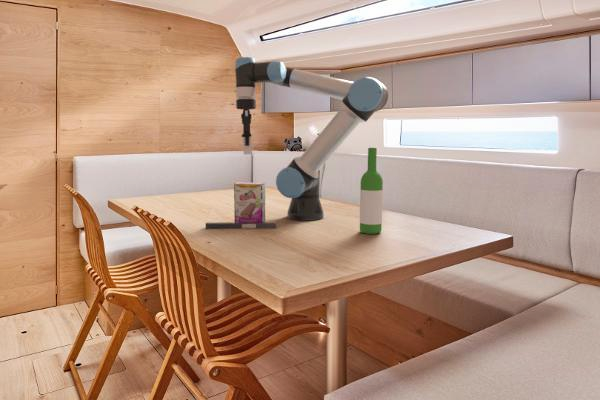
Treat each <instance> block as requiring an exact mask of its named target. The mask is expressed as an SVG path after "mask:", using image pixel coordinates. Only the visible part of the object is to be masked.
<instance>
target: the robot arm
mask: <svg viewBox="0 0 600 400" xmlns="http://www.w3.org/2000/svg"><path fill="white" fill-rule="evenodd" d="M234 68H235V69H234V71H235V89H234V93H235V95H236V96H235V97H236V99H235V107H236V109H237V110H243V111H242V113H241V115H240V117H241V118H240V119H241V125H243V126H242V127H243V129H242V130H243V132H242V134H241V138H242V140H243V142H242V143H243V155H252V148H251V147H252V145H251V144H252V143H251V138H252V133H251V124H252V113H251V111H250V110H256V108H257V107H256V102H257V101H256V97H257V96H256V92H257V91H256V83H263V84H264V83H269V84H273V85H278V86H281V87H285V88H291V89H294V90H299V91H303V92H308V93H312V94H316V95H319V96H325V97H329V98H332V99H333V98H334V99H337V100H341V108H340V109H339V110H338V112H337V113H335V115H334V116H333V117H332V119H331V120H330V121H329V122H328V124H326V126H325V127H324V128H323V129H322V131H320V133H319V134H318V136H316V137H315V139H314V140H313V141H312V143H311V144H310V145H309V147H307V148H306V150H305V151H304V152H303V154H301V156H295V157H294V158H293V159H292V160H291V161H290V163H289V164H288V165H287V166H286V167H284V168H282V169H281V170H280V171H279V172H278V173H277V175H276V177H275V184H276V188H277V190H278V192H279V193H280V194H281V195H282V196H283V197H285V198H288V199H291V200H290V202H289V207H288V208H287V212H286V214H287V218H288V219H289V220H294V221H317V220H322V219H324V215H325V214H324V210H323V206H322V203H321V200H320V191H321V189H320V187H321V185H320V182H321V181H320V180H321V177H320V176H321V169H322V167H323V166H325V164H326V163H327V161H328V160H329V159H330V158H331V157H332V155H333V154H334V153H335V152H336V151H337V150H338V149H339V148H340V146H342V144H343V143H344V142H345V140H347V138H349V136H350V135H351V134H352V132H353V131H354V130H355V129H356V128H357V126H358V125H359V124H361V123H367V121H368V120H369V119H370V118H371V116H373V115H374V114H375V112H379V111H380V110H382V109H383V108H384V107H385V106H386V105H387V102H388V99H389V92H388V88H387V87H386V86H385V85H384V83H382V82H381V81H379V80H378V79H377V78H374V77H371V76H364V77H360V78H357V79H356V80H354V81H350V80H346V79H341V78H338V77H337V78H336V77H333V76H328V75H324V74H319V73H315V72H311V71H310V72H309V71H306V70H301V69H297V68H291V67H287V66H285V63H284V62H283V61H276V60H272V61H265V62H264V61H263V62H262V61H261V62H256V60H255V58H254V57H252V56H251V57H250V56H241V57H237V58H236V59H235V67H234Z"/></svg>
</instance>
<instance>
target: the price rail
mask: <svg viewBox="0 0 600 400" xmlns="http://www.w3.org/2000/svg"><path fill="white" fill-rule="evenodd" d="M223 229H224V230H225V229H226V230H233V229H235V230H237V229H240V230H243V229H249V230H250V229H251V230H252V229H253V230H254V229H277V222H276V221H265V222H235V221H234V222H233V221H231V222H228V221H227V222H220V221H219V222H218V221H217V222H205V230H223Z"/></svg>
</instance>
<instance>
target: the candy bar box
mask: <svg viewBox="0 0 600 400" xmlns="http://www.w3.org/2000/svg"><path fill="white" fill-rule="evenodd" d="M233 186H234V187H233V193H234V197H233V202H234V203H233V204H234V206H233V208H234V222H266V183H265V182H242V181H241V182H240V181H239V182H238V181H237V182H235V183H234V184H233Z"/></svg>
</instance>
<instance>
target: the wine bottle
mask: <svg viewBox="0 0 600 400" xmlns="http://www.w3.org/2000/svg"><path fill="white" fill-rule="evenodd" d="M377 154H378V153H377V147H369V148H367V170H366V171H365V172H364V173H363V175H362V176H361V179H360V189H359V192H360V194H359V195H360V197H359V198H360V199H359V231H360V232H361V233H362V234H365V233H366V234H367V235H377V233H378V234H380V233H381V232H382V227H383V226H382V225H383V224H382V222H383V221H382V219H383V184H384V183H383V182H384V181H383V177H382V175H381V174H380V173H379V172H378V171H377Z"/></svg>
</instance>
